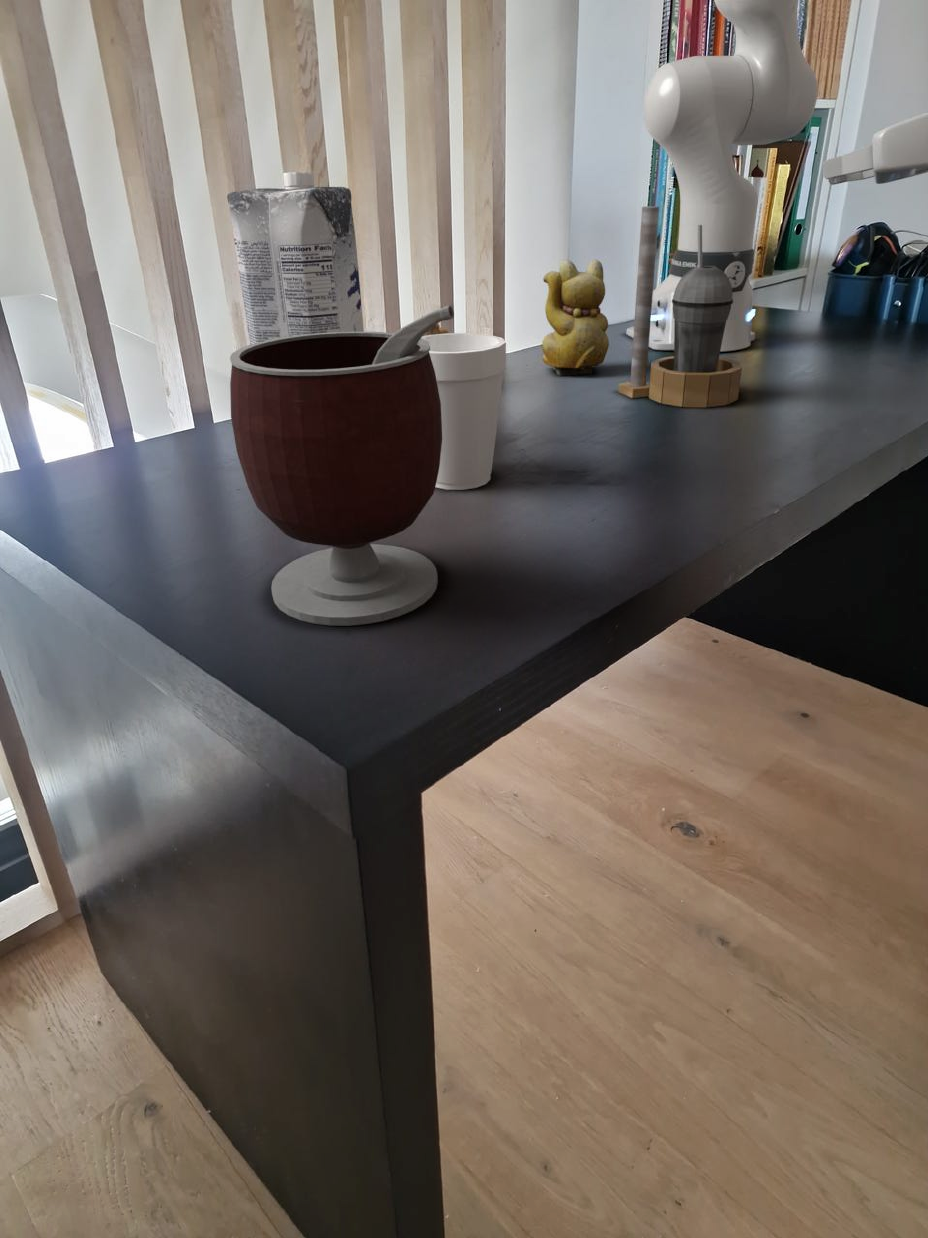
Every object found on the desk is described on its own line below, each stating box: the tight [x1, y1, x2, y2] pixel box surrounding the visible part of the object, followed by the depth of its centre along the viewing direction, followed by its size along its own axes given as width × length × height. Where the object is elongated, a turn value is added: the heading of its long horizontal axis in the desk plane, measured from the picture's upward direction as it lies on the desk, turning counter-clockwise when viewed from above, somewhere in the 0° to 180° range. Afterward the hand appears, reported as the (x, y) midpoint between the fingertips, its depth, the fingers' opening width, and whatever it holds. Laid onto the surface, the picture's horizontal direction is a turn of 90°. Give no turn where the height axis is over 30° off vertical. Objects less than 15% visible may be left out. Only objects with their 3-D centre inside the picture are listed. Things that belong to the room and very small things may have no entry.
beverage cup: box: [672, 225, 733, 373], centre depth 102 cm, size 7×7×20 cm
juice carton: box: [226, 171, 365, 345], centre depth 84 cm, size 9×10×27 cm
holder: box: [618, 205, 743, 409], centre depth 101 cm, size 12×13×22 cm
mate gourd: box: [229, 304, 455, 627], centre depth 57 cm, size 16×14×20 cm
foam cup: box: [421, 332, 507, 491], centre depth 79 cm, size 10×9×13 cm
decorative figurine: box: [541, 259, 610, 377], centre depth 117 cm, size 10×8×15 cm
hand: (826, 173), depth 90 cm, fingers open, 8 cm apart
